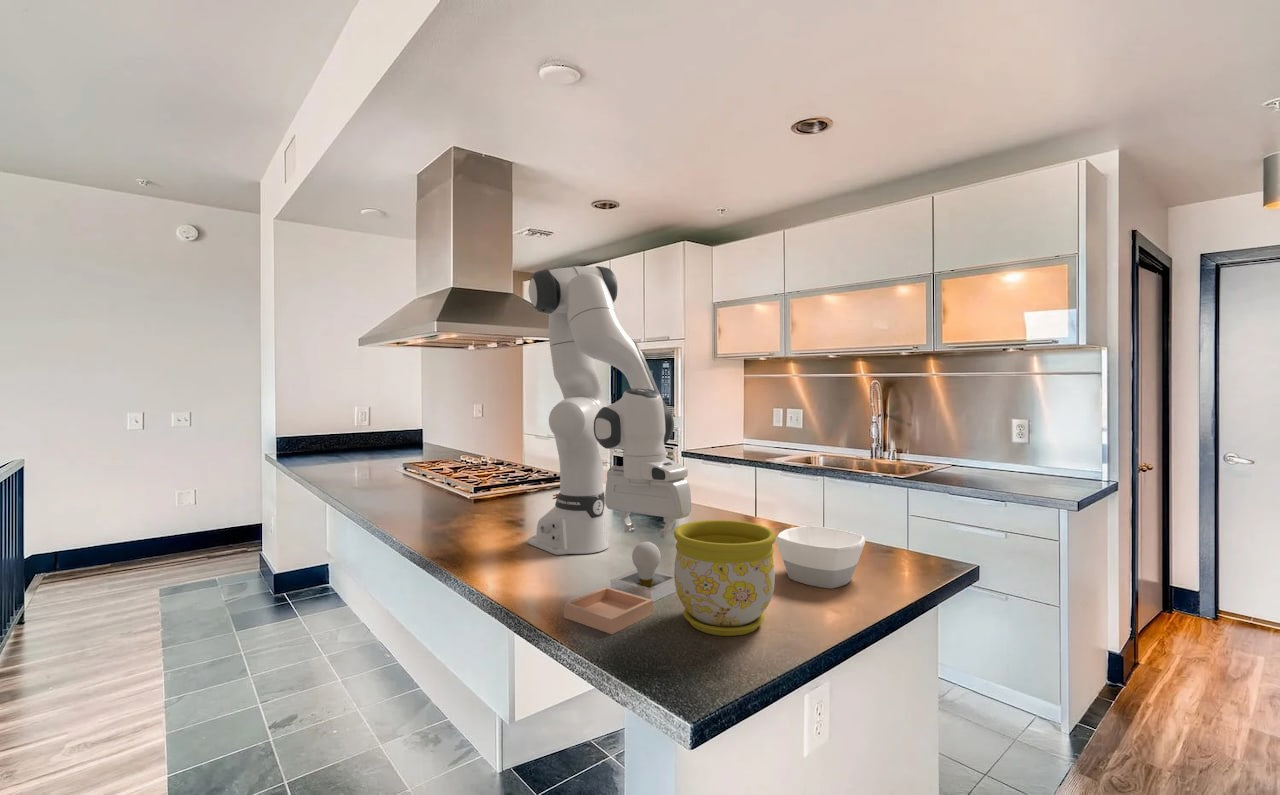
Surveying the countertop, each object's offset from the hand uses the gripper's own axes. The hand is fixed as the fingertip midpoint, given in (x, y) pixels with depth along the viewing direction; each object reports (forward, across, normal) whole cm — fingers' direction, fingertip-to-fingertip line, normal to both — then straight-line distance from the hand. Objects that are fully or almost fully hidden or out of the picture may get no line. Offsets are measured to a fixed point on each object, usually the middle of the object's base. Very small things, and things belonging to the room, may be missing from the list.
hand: (647, 535), depth 124 cm
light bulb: (+12, -1, 0) cm, 12 cm away
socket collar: (+12, -1, 0) cm, 12 cm away
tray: (+11, +2, -15) cm, 19 cm away
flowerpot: (+12, +20, -4) cm, 24 cm away
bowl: (+13, +24, +30) cm, 41 cm away
